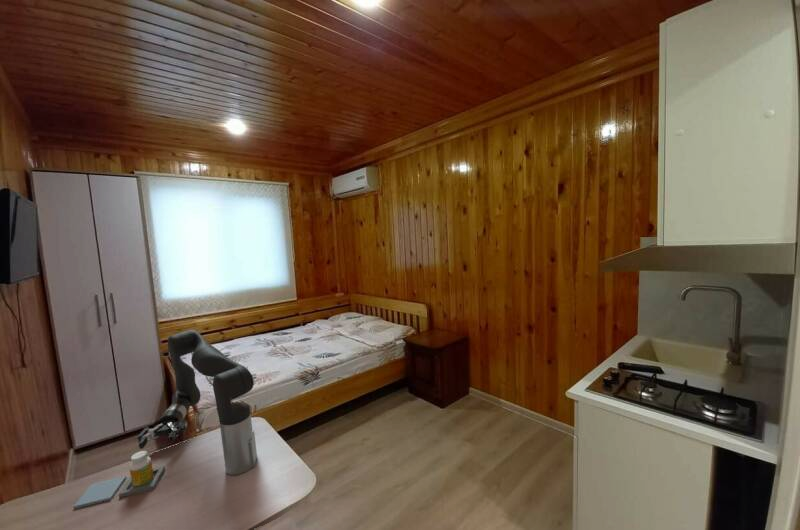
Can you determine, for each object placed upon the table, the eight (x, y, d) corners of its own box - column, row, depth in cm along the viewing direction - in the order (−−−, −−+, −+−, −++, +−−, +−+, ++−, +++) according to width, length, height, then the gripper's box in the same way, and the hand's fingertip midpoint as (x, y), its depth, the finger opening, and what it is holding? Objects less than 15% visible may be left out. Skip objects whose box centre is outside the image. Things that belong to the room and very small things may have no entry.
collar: (165, 469, 109) (164, 466, 109) (153, 489, 100) (153, 485, 100) (133, 476, 106) (133, 473, 106) (119, 497, 98) (118, 494, 98)
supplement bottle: (142, 490, 100) (137, 461, 99) (128, 488, 101) (123, 460, 100) (158, 477, 105) (154, 449, 104) (144, 475, 106) (140, 448, 105)
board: (126, 478, 106) (125, 475, 106) (111, 499, 97) (110, 497, 97) (92, 485, 103) (92, 483, 103) (73, 508, 95) (73, 506, 94)
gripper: (150, 413, 126) (129, 438, 111) (191, 405, 130) (177, 428, 115) (153, 430, 127) (132, 458, 112) (194, 422, 131) (180, 448, 116)
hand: (155, 443), depth 113 cm, fingers open, 8 cm apart
